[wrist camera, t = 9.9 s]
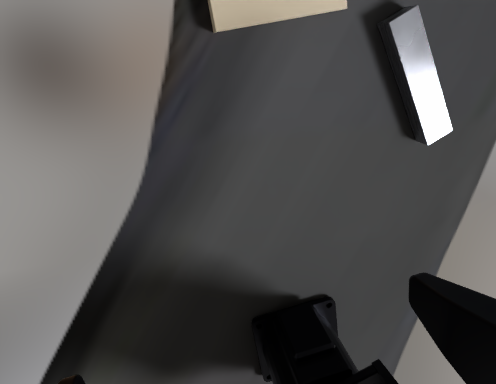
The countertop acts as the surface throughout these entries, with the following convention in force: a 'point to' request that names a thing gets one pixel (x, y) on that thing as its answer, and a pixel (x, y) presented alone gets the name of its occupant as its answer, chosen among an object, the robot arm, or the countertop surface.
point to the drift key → (415, 74)
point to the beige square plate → (265, 11)
